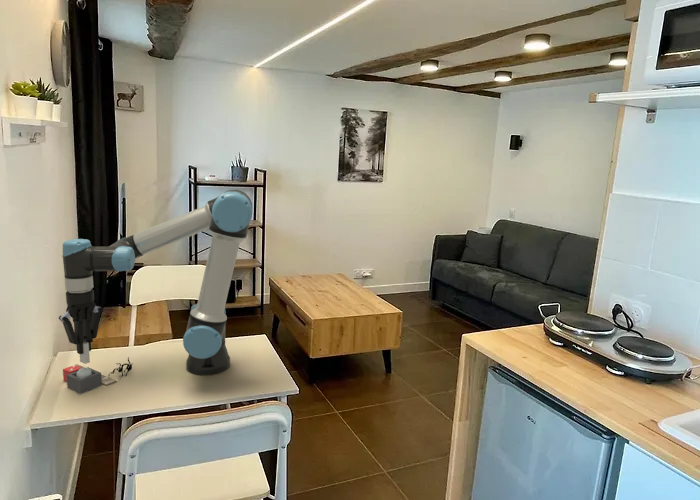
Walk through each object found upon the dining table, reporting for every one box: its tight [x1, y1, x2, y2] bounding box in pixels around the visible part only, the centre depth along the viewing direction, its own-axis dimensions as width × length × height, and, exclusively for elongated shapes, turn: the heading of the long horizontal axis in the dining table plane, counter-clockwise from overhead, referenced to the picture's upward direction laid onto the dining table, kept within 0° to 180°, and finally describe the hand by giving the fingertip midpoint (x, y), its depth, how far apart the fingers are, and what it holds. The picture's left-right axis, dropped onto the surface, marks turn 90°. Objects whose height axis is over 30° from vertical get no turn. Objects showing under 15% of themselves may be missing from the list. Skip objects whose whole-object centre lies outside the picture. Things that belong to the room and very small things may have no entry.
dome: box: [77, 367, 92, 379], centre depth 153 cm, size 4×4×5 cm
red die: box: [62, 364, 81, 383], centre depth 158 cm, size 4×4×4 cm
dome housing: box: [66, 366, 103, 395], centre depth 153 cm, size 7×7×4 cm
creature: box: [107, 356, 133, 381], centre depth 163 cm, size 8×5×8 cm
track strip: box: [75, 363, 118, 387], centre depth 162 cm, size 22×4×1 cm, turn 60°
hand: (85, 362), depth 152 cm, fingers closed
